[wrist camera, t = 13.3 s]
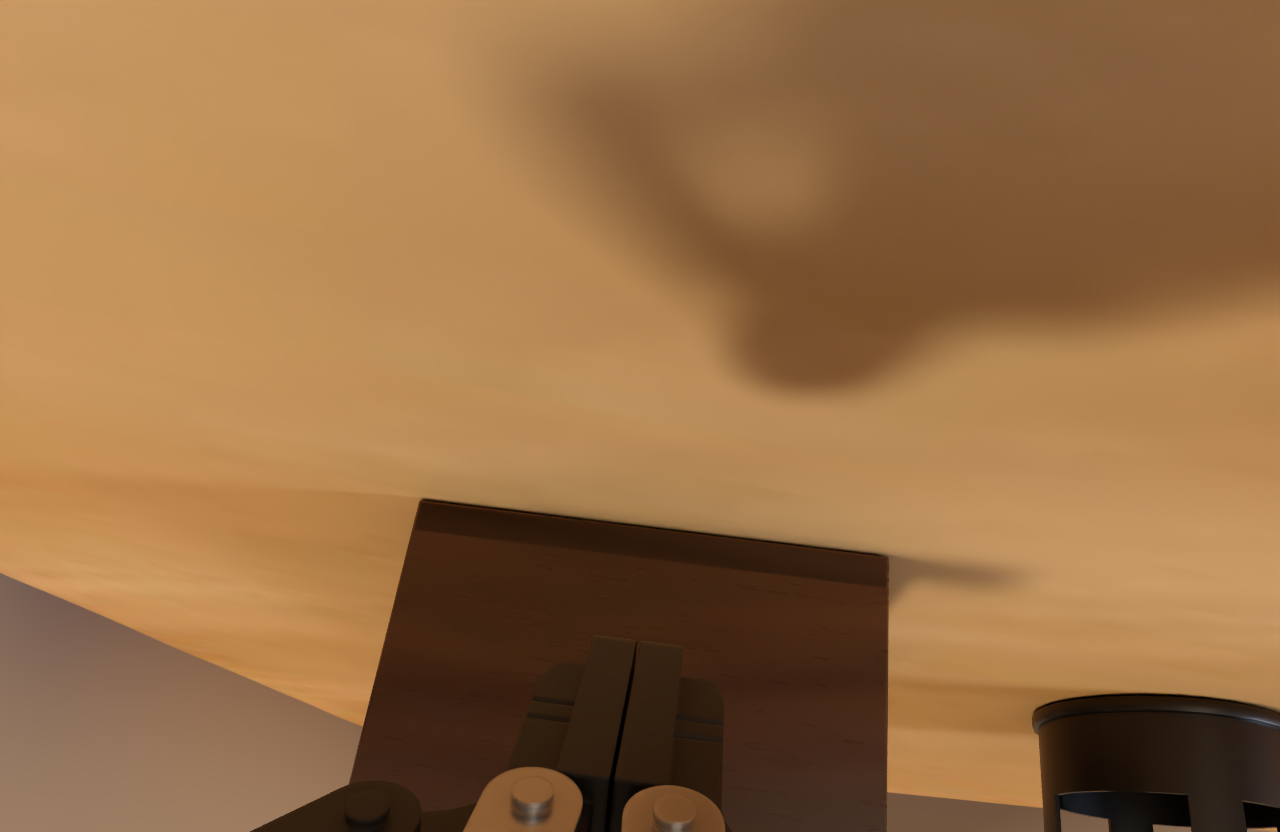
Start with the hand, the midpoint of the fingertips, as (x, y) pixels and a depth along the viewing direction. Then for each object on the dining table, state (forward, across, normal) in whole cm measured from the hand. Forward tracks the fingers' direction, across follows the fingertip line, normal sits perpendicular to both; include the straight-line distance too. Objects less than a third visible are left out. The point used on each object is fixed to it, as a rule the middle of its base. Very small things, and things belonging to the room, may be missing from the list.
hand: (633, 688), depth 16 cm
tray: (+17, +1, +8) cm, 19 cm away
